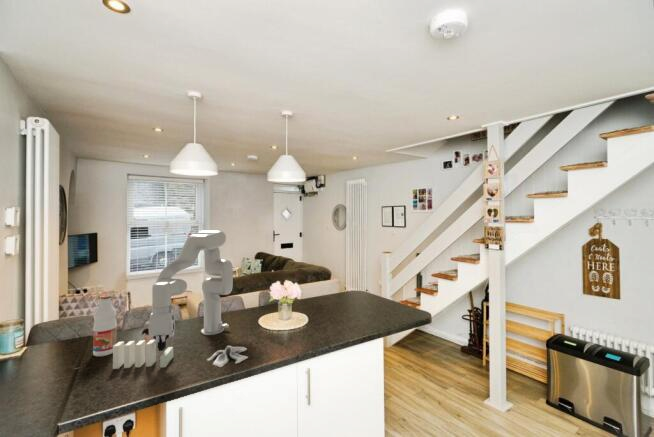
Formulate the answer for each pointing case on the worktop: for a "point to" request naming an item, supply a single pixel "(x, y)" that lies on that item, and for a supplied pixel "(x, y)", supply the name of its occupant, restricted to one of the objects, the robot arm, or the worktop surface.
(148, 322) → the grandmother figurine
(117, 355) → the domino
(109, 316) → the fruit juice
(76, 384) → the worktop surface
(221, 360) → the cloth
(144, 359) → the domino
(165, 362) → the domino
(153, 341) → the domino
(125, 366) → the domino
